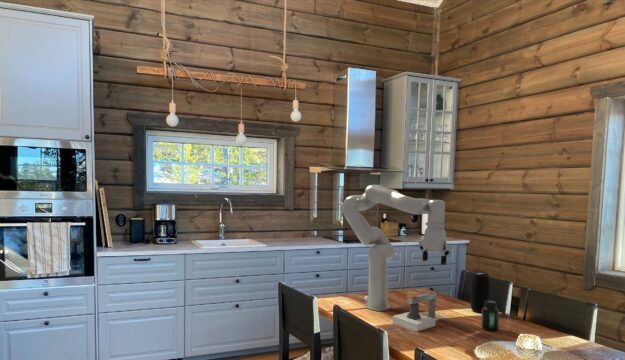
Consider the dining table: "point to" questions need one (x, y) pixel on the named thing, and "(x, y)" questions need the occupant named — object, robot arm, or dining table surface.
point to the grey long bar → (421, 297)
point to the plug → (414, 312)
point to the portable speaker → (479, 290)
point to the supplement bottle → (490, 316)
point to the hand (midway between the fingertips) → (434, 262)
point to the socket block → (419, 323)
